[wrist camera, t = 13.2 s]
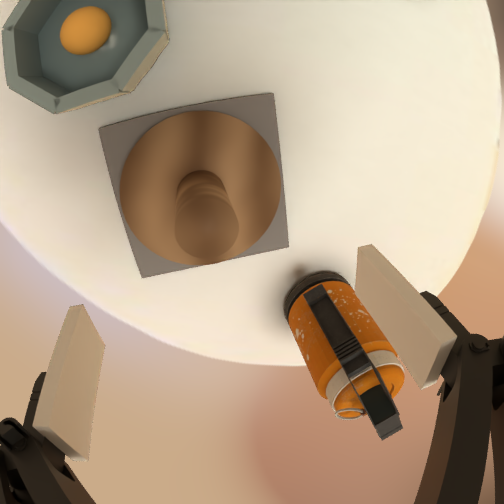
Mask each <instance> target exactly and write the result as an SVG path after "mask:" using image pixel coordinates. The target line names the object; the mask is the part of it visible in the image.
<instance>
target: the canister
mask: <svg viewBox="0 0 504 504" xmlns="http://www.w3.org/2000/svg"><path fill="white" fill-rule="evenodd" d="M284 310H285V316H286V319H287V321H288V324H289V326H290V328H291V331H292V333H293V335H294V337H295V340H296V342H297V344H298V346H299V349H300V351H301V353H302V356H303V358H304V360H305V362H306V365H307V367H308V369H309V371H310V373H311V376H312V378H313V380H314V382H315V385H316V387H317V390H318V392H319V394H320V395H321V396H322V397H323V398H325V399H328V400H329V403H330V405H331V407H332V409H333V411H334V412H336V413H335V417H337V418H339V419H343V420H353V419H358V418H361V417H362V416H365V415H367V414H368V416H369V418H370V420H371V422H372V424H373V425H374V427H375V429H376V430H377V433H378V435H379V437H380V438H381V439H382V440H384V439H385V438H387V437H389V436H391V435H392V434H394V433H396V432H398V431H399V430H401V429H402V428H403V427H402V424H401V421H400V418H399V412H398V410H397V408H396V406H395V404H394V402H393V398H394V397H395V396H396V395H397V393H398V392H399V391H400V389H401V387H402V385H403V383H404V368H403V366H402V365H401V363H400V362H399V360H398V359H397V355H398V354H397V353H396V351H395V350H394V348H393V347H392V345H391V344H390V342H389V341H388V340H387V338H386V337H385V335H384V334H383V332H382V331H381V329H380V328H379V327H378V325H377V324H376V322H375V321H374V319H373V318H372V317H371V315H370V314H369V312H368V311H367V310H366V308H365V307H364V305H363V304H362V303H361V301H360V300H359V298H358V297H357V296H356V294H355V291H354V290H353V289H352V287H351V286H350V285H349V283H348V282H347V281H346V280H345V279H344V278H343V277H342V276H340V275H337V274H333V273H322V274H317V275H314V276H311V277H309V278H307V279H305V280H304V281H302V282H301V283H300V284H299V285H297V286H296V287H295V288H294V289H293V290H292V292H291V293H290V295H289V296H288V298H287V300H286V304H285V309H284ZM337 414H339V415H340V416H339V415H337ZM341 416H342V417H341Z"/></svg>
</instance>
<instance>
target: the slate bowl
mask: <svg viewBox="0 0 504 504" xmlns="http://www.w3.org/2000/svg"><path fill="white" fill-rule="evenodd" d="M87 6H94V7H98V8H101V9H103V10H104V11H105V12H106V13H107V14H108V15H109V17H110V19H111V33H110V35H109V37H108V39H107V41H106V42H105V43H104V44H103V46H102V47H100V48H99V49H98V50H96V51H94V52H92V53H89V54H86V55H76V54H72V53H70V52H68V51H67V50H66V49H65V48H64V47H63V45H62V43H61V40H60V30H61V27H62V25H63V23H64V21H65V20H66V18H67V17H68V16H69V15H70V14H71V13H73V12H74V11H76V10H77V9H80V8H83V7H87ZM3 28H4V30H2V44H3V56H4V65H5V74H6V81H7V86H9V89H11V90H13V91H15V92H16V93H18V94H20V95H22V96H23V97H25V98H27V99H29V100H30V101H32V102H34V103H36V104H37V105H39V106H41V107H42V108H44V109H46V110H48V111H49V112H51V113H53V114H55V113H56V114H59V113H63V112H68V111H72V110H77V109H80V108H83V107H86V106H89V105H92V104H95V103H98V102H102V101H106V100H109V99H111V98H114V97H118V96H121V95H125V94H128V93H131V91H134V89H135V88H136V86H137V85H138V83H139V82H140V81H141V79H142V78H143V77H144V76H145V75H146V74H147V73H148V71H149V70H150V69H151V68H152V66H153V65H154V63H155V62H156V60H157V58H158V56H159V55H160V53H161V52H162V51H163V49H164V48H165V47H166V46H167V44H168V41H169V35H168V28H167V19H166V13H165V5H164V0H20V1H19V2H18V4H17V5H16V7H15V8H14V10H13V11H12V13H11V15H10V16H9V18H8V19H7V21H6V23H5V24H4V26H3Z"/></svg>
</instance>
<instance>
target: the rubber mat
mask: <svg viewBox="0 0 504 504" xmlns="http://www.w3.org/2000/svg"><path fill="white" fill-rule="evenodd" d="M190 111H214V112H220V113H223V114H227V115H230V116H232V117H235V118H237V119H239V120H241V121H243V122H244V123H246V124H248V125H249V126H251V127H252V128H253V129H254V130H255V131H257V132H258V133H259V134H260V135H261V136H262V137H263V139H264V140H265V141H266V142H267V144H268V145H269V147H270V148H271V150H272V152H273V154H274V156H275V158H276V160H277V163H278V167H279V171H280V176H281V195H280V201H279V205H278V209H277V212H276V214H275V217H274V219H273V221H272V222H271V224H270V226H269V227H268V229H267V230H266V232H265V233H264V234H263V235H262V237H261V238H260V239H259V240H258V241H257V242H256V243H255V244H253V245H252V246H251V247H250V248H249V249H247V250H246V251H244V252H243V253H241V254H239V255H237V256H235V257H233V258H231V259H236V258H240V257H245V256H250V255H254V254H259V253H264V252H268V251H273V250H278V249H283V248H287V247H289V241H288V229H287V217H286V206H285V195H284V184H283V174H282V164H281V154H280V144H279V135H278V126H277V117H276V109H275V100H274V93H270V94H261V95H253V96H245V97H238V98H231V99H224V100H218V101H212V102H206V103H201V104H196V105H190V106H185V107H180V108H176V109H171V110H166V111H162V112H158V113H153V114H149V115H145V116H141V117H137V118H134V119H130V120H126V121H122V122H119V123H115V124H112V125H109V126H105V127H102V128H99V133H100V138H101V142H102V147H103V151H104V155H105V159H106V163H107V167H108V171H109V174H110V178H111V182H112V186H113V189H114V193H115V196H116V200H117V203H118V207H119V210H120V213H121V217H122V220H123V223H124V226H125V230H126V233H127V236H128V239H129V242H130V245H131V248H132V251H133V254H134V257H135V260H136V263H137V266H138V268H139V271H140V274H141V277H142V278H146V277H151V276H155V275H160V274H165V273H170V272H174V271H179V270H184V269H188V268H193V267H198V266H203V265H186V264H181V263H176V262H173V261H170V260H167V259H165V258H163V257H161V256H159V255H157V254H155V253H154V252H152V251H151V250H149V249H148V248H147V247H146V246H144V245H143V244H142V243H141V242H140V241H139V240H138V239H137V238H136V236H135V235H134V233H133V232H132V231H131V229H130V227H129V225H128V224H127V222H126V220H125V217H124V214H123V211H122V207H121V203H120V179H121V174H122V170H123V167H124V164H125V161H126V159H127V157H128V155H129V153H130V152H131V150H132V149H133V147H134V146H135V144H136V143H137V142H138V141H139V139H140V138H141V137H142V136H143V135H144V134H145V133H146V132H147V131H149V130H150V129H151V128H152V127H154V126H155V125H156V124H158V123H160V122H161V121H163V120H165V119H167V118H169V117H172V116H174V115H177V114H181V113H184V112H190ZM231 259H228V260H231Z"/></svg>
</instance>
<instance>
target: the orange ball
mask: <svg viewBox="0 0 504 504" xmlns="http://www.w3.org/2000/svg"><path fill="white" fill-rule="evenodd" d="M110 33H111V19H110V17H109V15H108V14H107V13H106V12H105V11H104V10H103V9H101V8H98V7H94V6H87V7H83V8H80V9H77V10H76V11H74V12H73V13H71V14H70V15H69V16H68V17H67V18H66V20H65V21H64V23H63V25H62V27H61V30H60V40H61V43H62V45H63V47H64V48H65V49H66V50H67V51H68V52H70V53H72V54H76V55H86V54H89V53H92V52H94V51H96V50H98V49H99V48H100V47H102V46H103V44H104V43H105V42H106V41H107V39H108V37H109V35H110Z"/></svg>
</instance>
